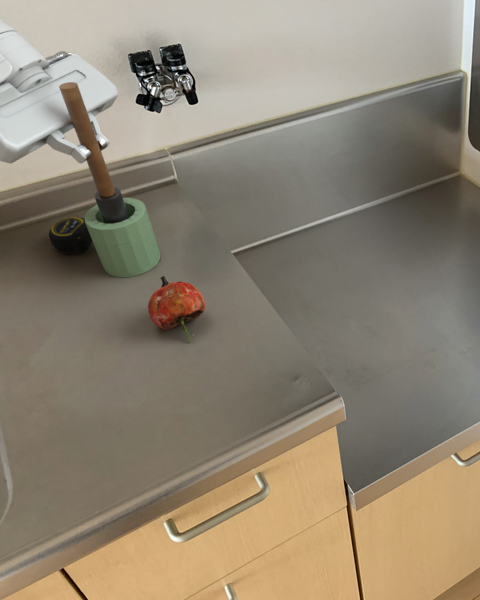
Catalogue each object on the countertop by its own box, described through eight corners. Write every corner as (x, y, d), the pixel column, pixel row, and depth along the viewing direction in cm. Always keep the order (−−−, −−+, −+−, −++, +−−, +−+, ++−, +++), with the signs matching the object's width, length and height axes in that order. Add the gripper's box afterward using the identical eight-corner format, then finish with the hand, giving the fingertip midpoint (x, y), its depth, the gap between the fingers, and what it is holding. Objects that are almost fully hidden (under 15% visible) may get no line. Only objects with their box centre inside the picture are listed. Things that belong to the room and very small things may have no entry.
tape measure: (89, 258, 98) (81, 239, 95) (47, 257, 98) (38, 238, 96) (106, 233, 103) (99, 215, 101) (66, 232, 103) (58, 214, 101)
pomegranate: (219, 337, 88) (199, 273, 89) (210, 330, 80) (188, 260, 82) (167, 354, 86) (147, 288, 88) (153, 348, 79) (132, 277, 81)
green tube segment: (106, 283, 93) (86, 234, 87) (101, 252, 99) (82, 205, 93) (164, 268, 96) (149, 220, 90) (156, 239, 102) (141, 192, 96)
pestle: (108, 236, 91) (53, 92, 76) (106, 224, 93) (52, 82, 79) (133, 230, 92) (84, 88, 78) (130, 218, 95) (82, 78, 80)
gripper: (63, 61, 90) (136, 133, 94) (-60, 117, 75) (33, 200, 79) (76, 33, 86) (152, 110, 90) (-51, 87, 71) (46, 176, 75)
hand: (95, 153), depth 84 cm, fingers closed on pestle, 2 cm apart
